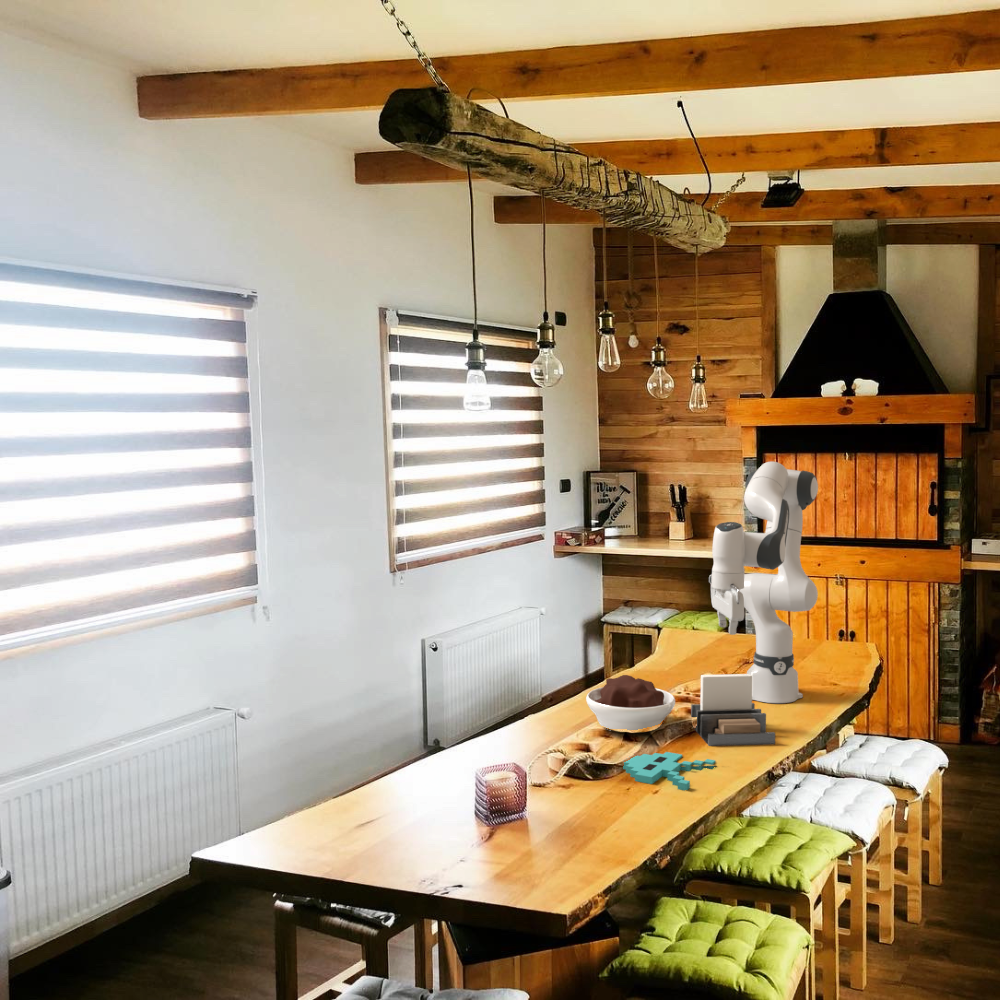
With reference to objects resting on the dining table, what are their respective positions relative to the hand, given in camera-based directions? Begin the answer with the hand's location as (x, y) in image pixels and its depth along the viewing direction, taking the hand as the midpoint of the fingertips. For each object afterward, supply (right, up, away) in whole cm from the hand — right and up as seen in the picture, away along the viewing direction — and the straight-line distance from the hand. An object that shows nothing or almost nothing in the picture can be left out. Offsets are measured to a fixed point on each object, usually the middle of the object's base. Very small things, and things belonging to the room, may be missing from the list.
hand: (727, 630), depth 307 cm
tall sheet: (0, -28, +3) cm, 28 cm away
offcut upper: (+1, -26, -9) cm, 28 cm away
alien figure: (-22, -33, -30) cm, 50 cm away
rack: (0, -29, -3) cm, 30 cm away
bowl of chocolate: (-26, -29, +6) cm, 40 cm away
